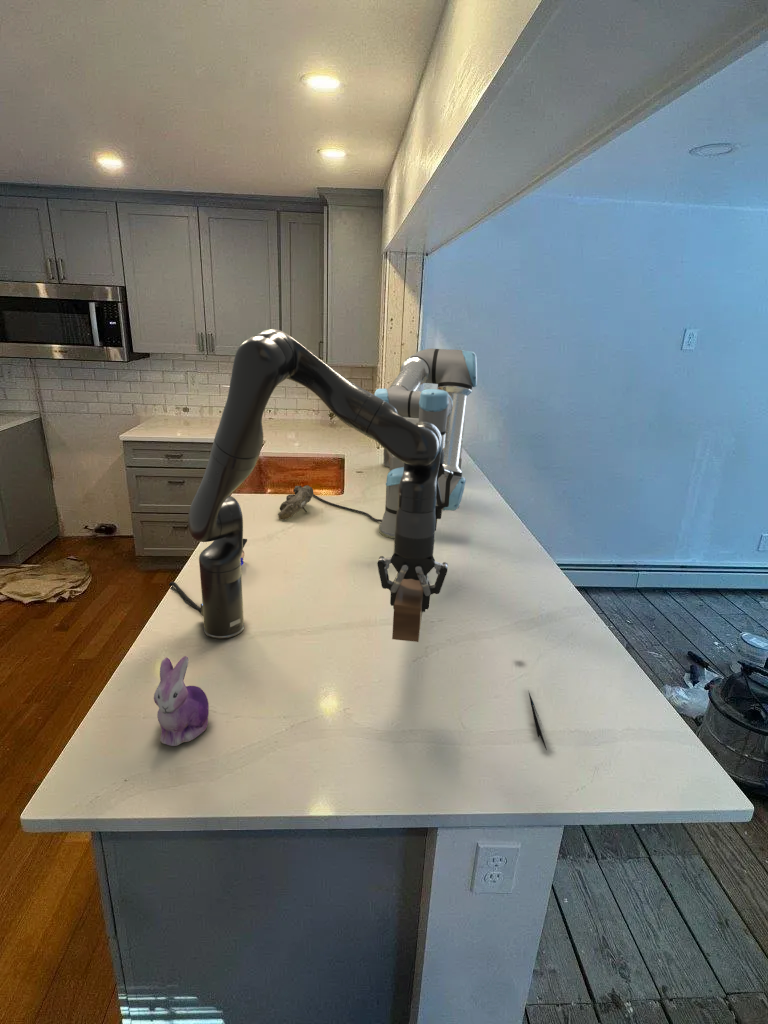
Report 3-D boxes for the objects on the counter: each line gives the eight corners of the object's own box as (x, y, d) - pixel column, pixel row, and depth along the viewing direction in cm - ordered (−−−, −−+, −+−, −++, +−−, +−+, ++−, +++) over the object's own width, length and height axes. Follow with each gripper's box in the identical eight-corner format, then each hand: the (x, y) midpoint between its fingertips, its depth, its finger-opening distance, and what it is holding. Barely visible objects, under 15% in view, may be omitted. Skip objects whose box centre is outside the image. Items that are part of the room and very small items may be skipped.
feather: (520, 667, 129) (525, 661, 129) (546, 754, 103) (553, 747, 102) (514, 663, 129) (519, 657, 129) (538, 750, 103) (545, 742, 102)
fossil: (283, 491, 225) (311, 471, 220) (299, 509, 228) (327, 489, 223) (268, 515, 206) (298, 494, 201) (285, 535, 209) (316, 514, 204)
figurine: (161, 756, 98) (153, 683, 93) (154, 719, 106) (146, 651, 101) (216, 740, 102) (211, 669, 97) (205, 705, 111) (200, 639, 106)
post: (417, 520, 168) (419, 496, 166) (434, 521, 168) (436, 497, 165) (392, 639, 107) (394, 604, 105) (418, 642, 107) (421, 607, 104)
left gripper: (374, 533, 104) (371, 614, 110) (452, 540, 103) (445, 622, 109) (380, 519, 111) (376, 595, 117) (453, 525, 110) (446, 603, 116)
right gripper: (395, 449, 151) (391, 530, 159) (464, 454, 149) (456, 535, 157) (398, 442, 158) (394, 520, 166) (464, 447, 156) (456, 526, 164)
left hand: (409, 608), depth 113 cm, fingers closed on post, 5 cm apart
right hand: (424, 528), depth 161 cm, fingers closed on post, 5 cm apart
